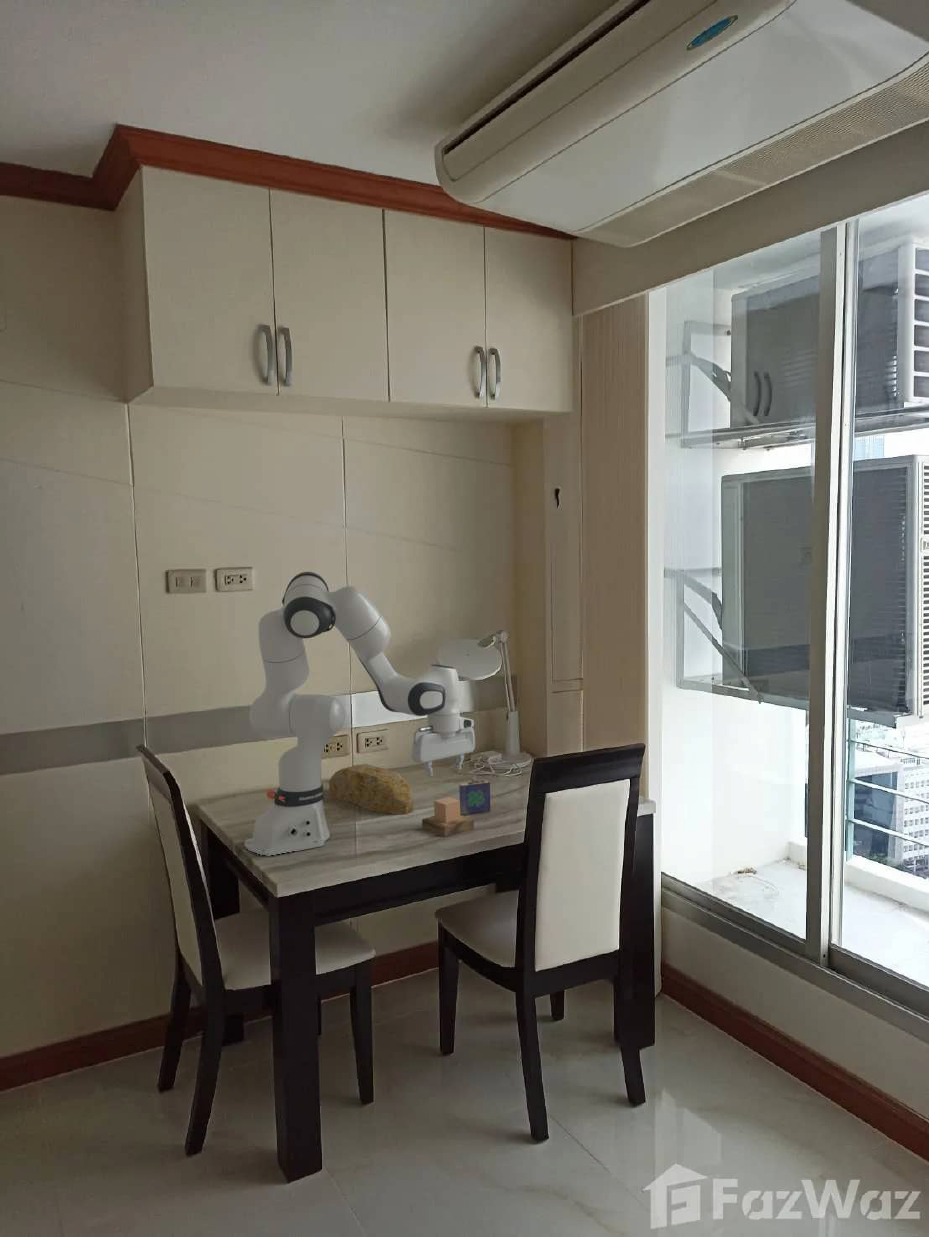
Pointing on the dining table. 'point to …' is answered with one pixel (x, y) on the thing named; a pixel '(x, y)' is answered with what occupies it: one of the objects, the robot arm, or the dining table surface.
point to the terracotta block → (447, 809)
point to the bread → (373, 789)
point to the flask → (474, 797)
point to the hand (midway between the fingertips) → (444, 773)
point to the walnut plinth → (447, 825)
